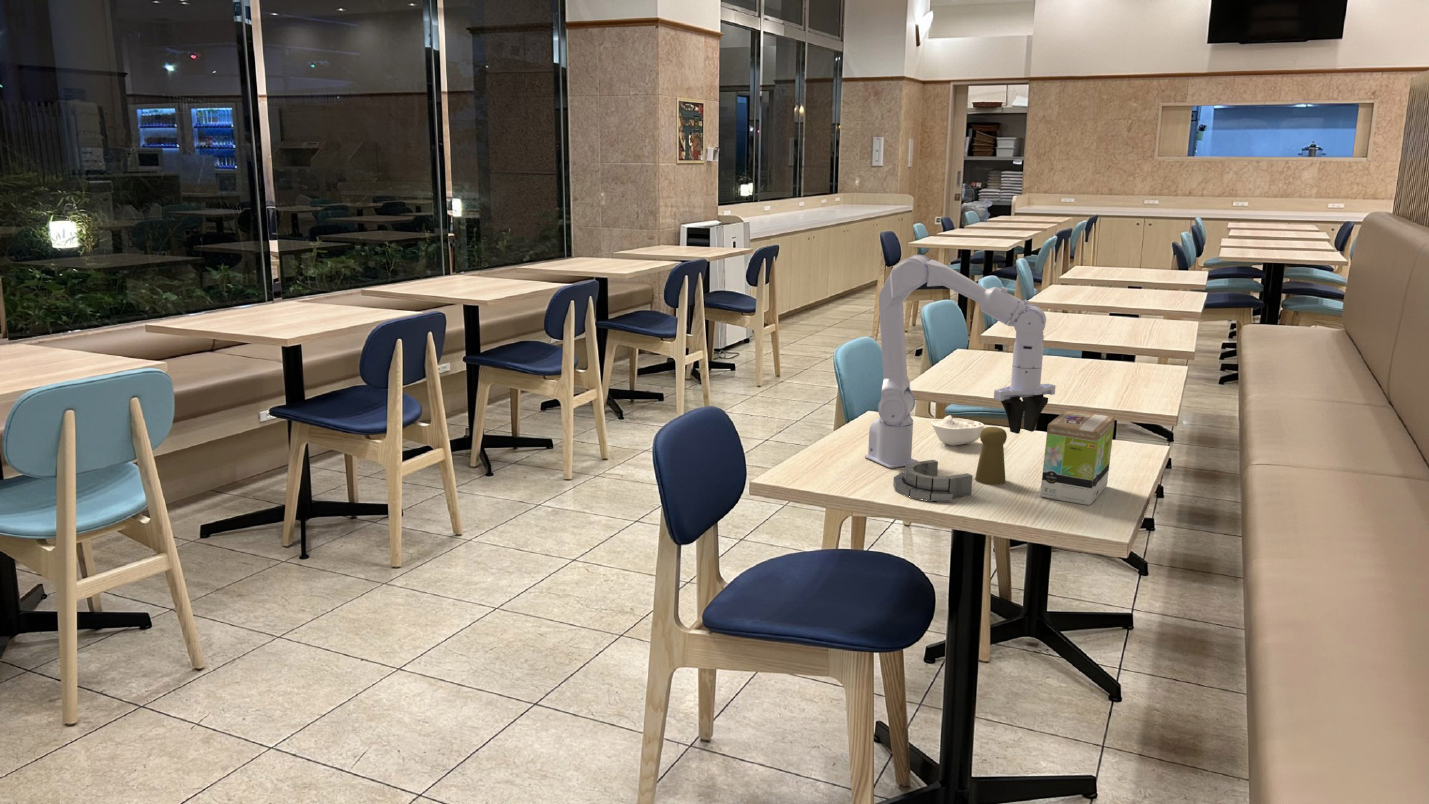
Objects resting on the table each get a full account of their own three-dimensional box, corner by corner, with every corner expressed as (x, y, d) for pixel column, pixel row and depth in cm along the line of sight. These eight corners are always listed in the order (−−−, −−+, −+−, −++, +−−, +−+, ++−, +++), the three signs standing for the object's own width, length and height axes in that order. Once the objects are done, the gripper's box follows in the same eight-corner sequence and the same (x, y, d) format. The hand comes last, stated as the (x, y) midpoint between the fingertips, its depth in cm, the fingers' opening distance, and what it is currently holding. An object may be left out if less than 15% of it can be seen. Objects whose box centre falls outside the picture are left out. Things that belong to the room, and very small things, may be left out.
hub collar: (878, 483, 210) (879, 464, 209) (926, 475, 215) (927, 457, 214) (927, 506, 196) (929, 486, 195) (977, 498, 202) (979, 478, 201)
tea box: (1092, 507, 197) (1100, 431, 194) (1038, 497, 202) (1044, 423, 199) (1108, 486, 210) (1115, 414, 206) (1057, 478, 215) (1063, 408, 212)
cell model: (989, 450, 235) (991, 421, 234) (936, 450, 235) (937, 420, 233) (976, 438, 245) (978, 410, 244) (925, 438, 245) (927, 410, 243)
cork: (1006, 485, 209) (1010, 432, 207) (975, 483, 211) (979, 430, 208) (1004, 477, 215) (1008, 425, 213) (974, 475, 216) (977, 423, 214)
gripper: (1013, 372, 204) (1008, 440, 207) (1068, 366, 211) (1062, 432, 214) (988, 366, 210) (984, 431, 214) (1043, 360, 217) (1038, 424, 220)
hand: (1021, 431), depth 214 cm, fingers open, 3 cm apart
